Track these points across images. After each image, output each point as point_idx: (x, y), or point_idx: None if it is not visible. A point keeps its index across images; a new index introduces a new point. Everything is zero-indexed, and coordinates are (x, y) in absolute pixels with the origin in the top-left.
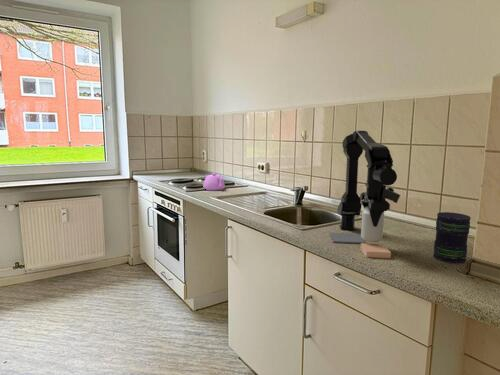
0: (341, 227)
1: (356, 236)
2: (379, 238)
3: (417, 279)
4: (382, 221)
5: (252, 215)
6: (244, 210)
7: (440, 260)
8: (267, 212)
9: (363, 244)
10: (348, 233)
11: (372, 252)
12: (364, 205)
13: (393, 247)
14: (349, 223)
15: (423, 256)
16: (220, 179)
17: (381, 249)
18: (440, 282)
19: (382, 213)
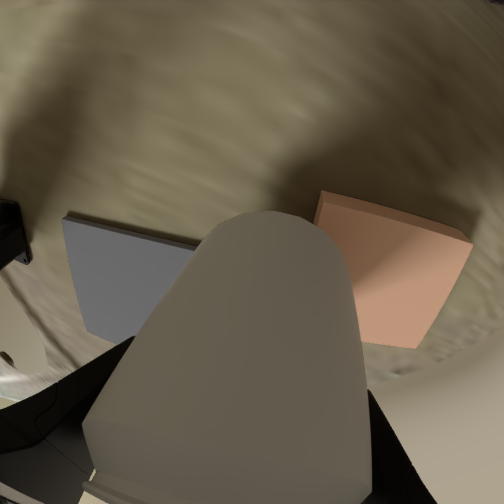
0: (17, 258)
1: (106, 253)
2: (348, 274)
3: None
4: (356, 380)
5: (36, 391)
6: (18, 383)
7: (501, 3)
8: (4, 358)
9: None
10: (73, 268)
11: (428, 325)
12: (78, 490)
13: (280, 94)
14: (5, 250)
15: (454, 23)
16: None
17: (419, 271)
18: None
19: (344, 494)
